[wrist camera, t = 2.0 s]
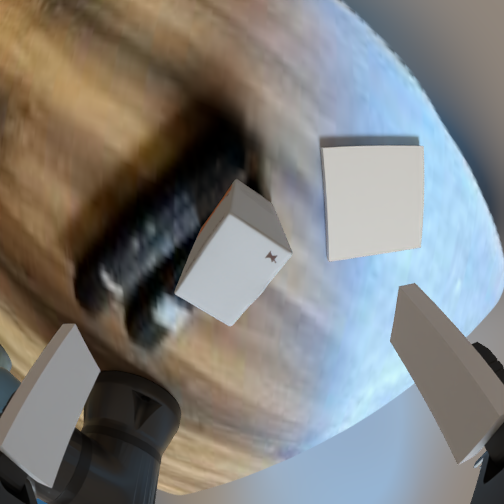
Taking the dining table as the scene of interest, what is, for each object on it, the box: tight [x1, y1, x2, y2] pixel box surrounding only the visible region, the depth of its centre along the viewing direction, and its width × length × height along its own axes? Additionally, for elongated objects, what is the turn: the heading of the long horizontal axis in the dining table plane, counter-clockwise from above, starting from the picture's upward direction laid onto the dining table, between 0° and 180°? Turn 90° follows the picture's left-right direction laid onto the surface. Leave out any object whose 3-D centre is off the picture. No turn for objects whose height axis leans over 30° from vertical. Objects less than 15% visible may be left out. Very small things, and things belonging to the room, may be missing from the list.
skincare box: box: [174, 179, 292, 326], centre depth 21 cm, size 6×4×12 cm
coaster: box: [320, 145, 424, 262], centre depth 26 cm, size 11×11×1 cm
